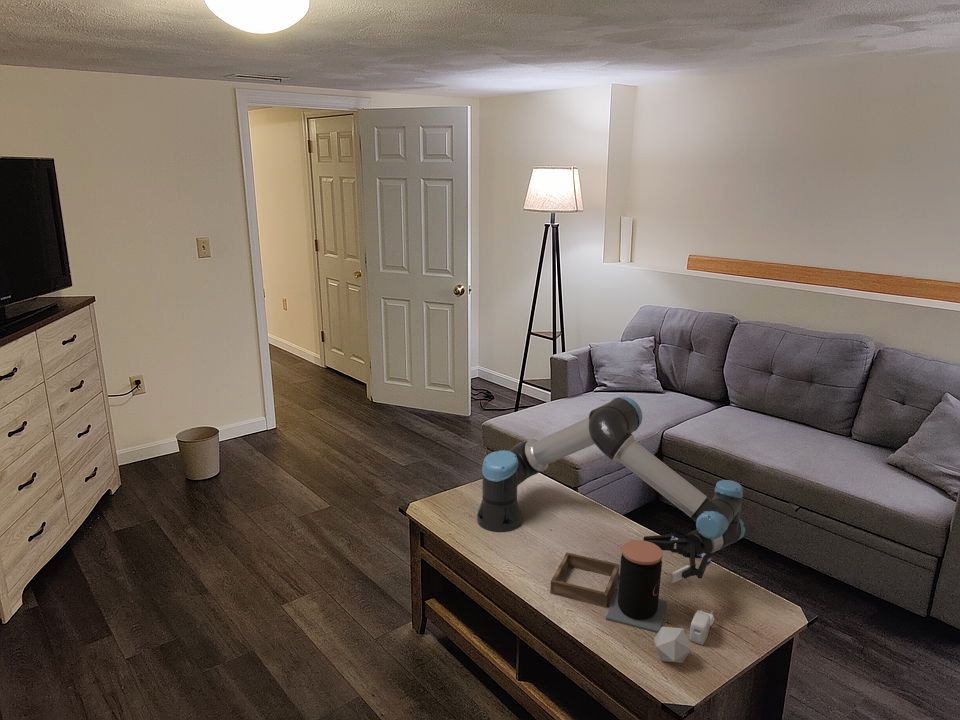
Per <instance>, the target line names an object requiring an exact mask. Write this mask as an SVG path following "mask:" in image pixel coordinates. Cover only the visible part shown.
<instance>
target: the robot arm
mask: <svg viewBox="0 0 960 720" xmlns="http://www.w3.org/2000/svg"><path fill="white" fill-rule="evenodd" d="M642 421H643V412H642V408H641V406H640V405H639V404H638V402H637V401H636V400H634V399H633V398H631V397H629V396H626V395H625V396H622V395H621V396H617V397H614V398H613V399H612V400H611V401H609V402H608V403H605V404H602V405H601V406H599V407H596V408H595V409H592V410H591V411H590V412H589V414H588V417H586V418H584V419H582V420H579V421H578V422H576V423H574V424H571V425H569V426H567V427H564V428H562V429H560V430H558V431H556V432H553V433H552V434H549V435H547V436H545V437H543V438H540V439H535V438H531V439H528V440H525V441H521V442H518V443H516V444H515V445H514V446H513V447H511V448H510V449H508V450H498V451H493V452H490V453H488V454H487V455H486V456H485V457H484V459H483V462H482V467H481V468H482V469H481V470H482V471H481V472H482V494H481V495H482V499H481V502H480V506H479V508H478V510H477V514H476V515H477V516H476V522H477V523H478V525H479V526H480V527H481V528H483V529H484V530H487V531H491V532H498V533H499V532H501V533H502V532H508V531H513V530H515V529H517V528H518V527H520V526H521V524H522V519H523V518H522V517H523V516H522V510H521V508H520V504H519V502H518V486H519V485H521V484H522V483H523V482H525V481H526V480H527V479H529V478H530V477H532V476H533V477H534V476H535V475H537V474H541V473H542V472H544V471H546V470H547V469H548V467H549V464H553V463H555V462H556V461H558V460H562V459H563V458H565V457H568V456H570V455H572V454H575V453H577V452H580V451H582V450H585V449H587V448H589V447H591V446H594V445H595V446H596V447H597V448H598V449H599V450H600V452H601V453H603V454H604V456H606V457H607V458H608V459H610V460H612V462H620V463H621V464H622V465H623V466H624V467H626V469H628V470H630V471H631V472H632V473H633V474H634V475H636V476H637V477H639V479H641V480H642V481H644V482H645V483H646V484H647V485H648V486H650V488H651V487H652V489H654V490H655V491H656V492H658V493H659V494H660V495H662V496H663V497H664V498H665V499H667V500H668V501H669V502H670V503H672V504H673V505H674V506H675V507H676V508H678V509H679V510H681V511H682V512H683V513H685V515H687V516H689V518H691V519H692V520H693V521H694V522H695V527H696V529H695V530H691V532H688V533H687V534H685V535H684V537H683V538H678V537H676V533H674V532H672V533H669V534H668V533H667V534H661V535H660V534H659V535H647V536H646V535H645V536H643V539H642V540H643V541H648V542H651V543H654V544H655V545H657V546H658V547H659V548H660V549H661V550H662V551H668V552H671V553H675V554H679V555H681V556H682V557H683V558H687V559H689V560H688V561H689V564H686V565H684V566H682V567H681V568H679V569H676V570H674V571H672V572H671V573H670V574H671V575H670V583H672V584H674V583H676V582H678V581H681V580H682V579H689V578H690V577H697V578H698V579H700V580H701V579H703V576H704V573H705V571H706V569H707V566H708V565H709V564H710V563H711V562H712V555H713V553H715V552H717V551H719V550H721V549H723V548H726V547H727V546H730V545H732V544H735V543H737V541H740V540H741V539H743V537H744V535H745V534H746V527H745V524H744V521H743V520H742V519H741V518H740V517H741V511H742V508H741V507H742V501H743V495H744V494H743V493H744V491H743V490H744V489H743V485H741V484H740V483H738V482H737V481H735V480H730V479H729V480H728V479H722V480H719V481H717V482H716V484H715V488H714V496H713V497H712V498H710V497H708V496H707V495H706V494H704V493H703V492H702V491H700V490H699V489H698V488H697V487H695V486H694V485H692V484H691V483H690V482H689V481H688V480H686V479H685V478H684V477H682V476H681V475H679V474H678V473H677V472H676V471H674V470H673V469H672V468H671V467H669V465H667V464H665V463H664V462H663V461H662V460H660V458H657V456H656V455H654V454H653V453H651V452H650V451H649V450H647V449H646V448H645V447H644V446H642V445H641V444H640V443H638V442H637V441H636V440H635V436H634V434H632V433H634V432H636V431H637V430H638V429H639V428H640V426H641V425H642ZM696 559H698V560H699V559H701V561H700V564H699V566H698V568H697V563H696Z"/></svg>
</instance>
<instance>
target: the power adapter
mask: <svg viewBox="0 0 960 720" xmlns="http://www.w3.org/2000/svg"><path fill="white" fill-rule="evenodd" d="M714 613H715V610H713V609H712V610H711V611H710V613H708V612H705V606H702V607H700V610H699V609H698V610H696V611H695V613H694V615H693V618H692V620H691V622H690V627H689V628H690V630H689V641H690V642H693V643H695V644H698V645H701V646H703V645H704V644H705V643H706V641H707V638H708V635H709V633H710V627H711V626H712V625H713V624H714V621H715V619H716V618H715V616H714Z"/></svg>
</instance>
